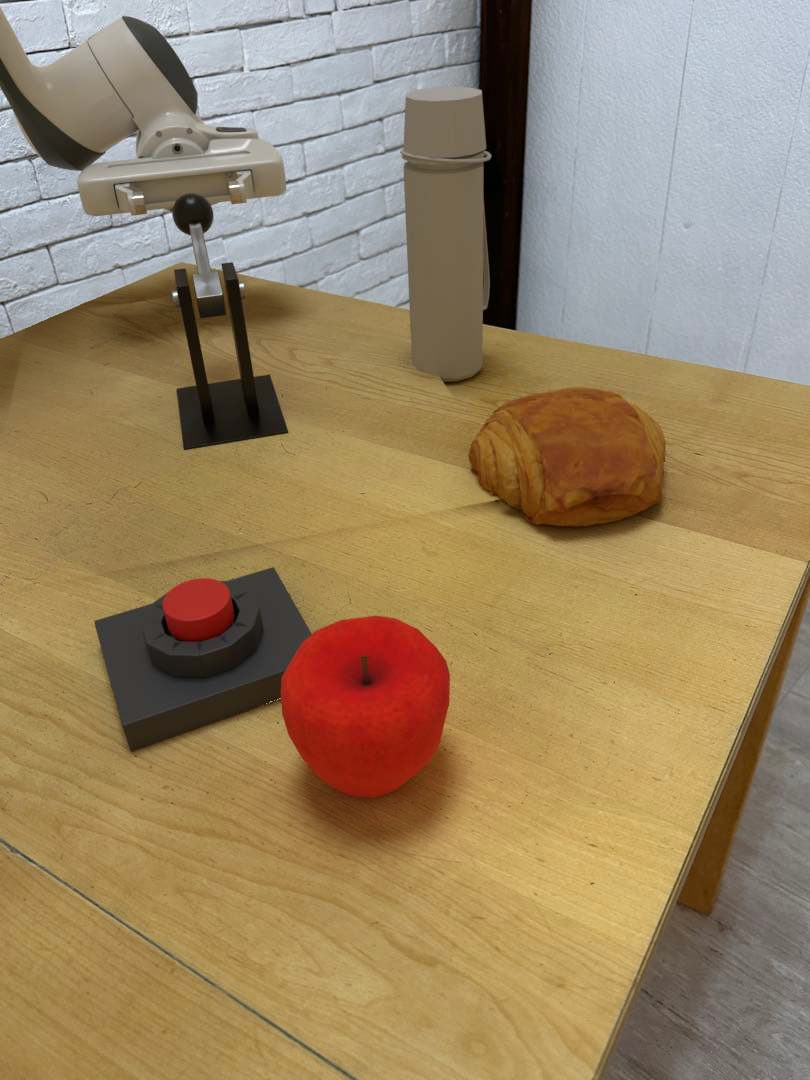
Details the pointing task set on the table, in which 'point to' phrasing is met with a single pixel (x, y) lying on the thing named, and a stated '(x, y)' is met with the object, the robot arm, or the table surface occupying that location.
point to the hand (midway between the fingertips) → (188, 200)
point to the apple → (366, 703)
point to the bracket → (226, 404)
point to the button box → (200, 661)
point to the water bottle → (446, 229)
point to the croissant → (571, 457)
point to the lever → (200, 252)
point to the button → (198, 610)
